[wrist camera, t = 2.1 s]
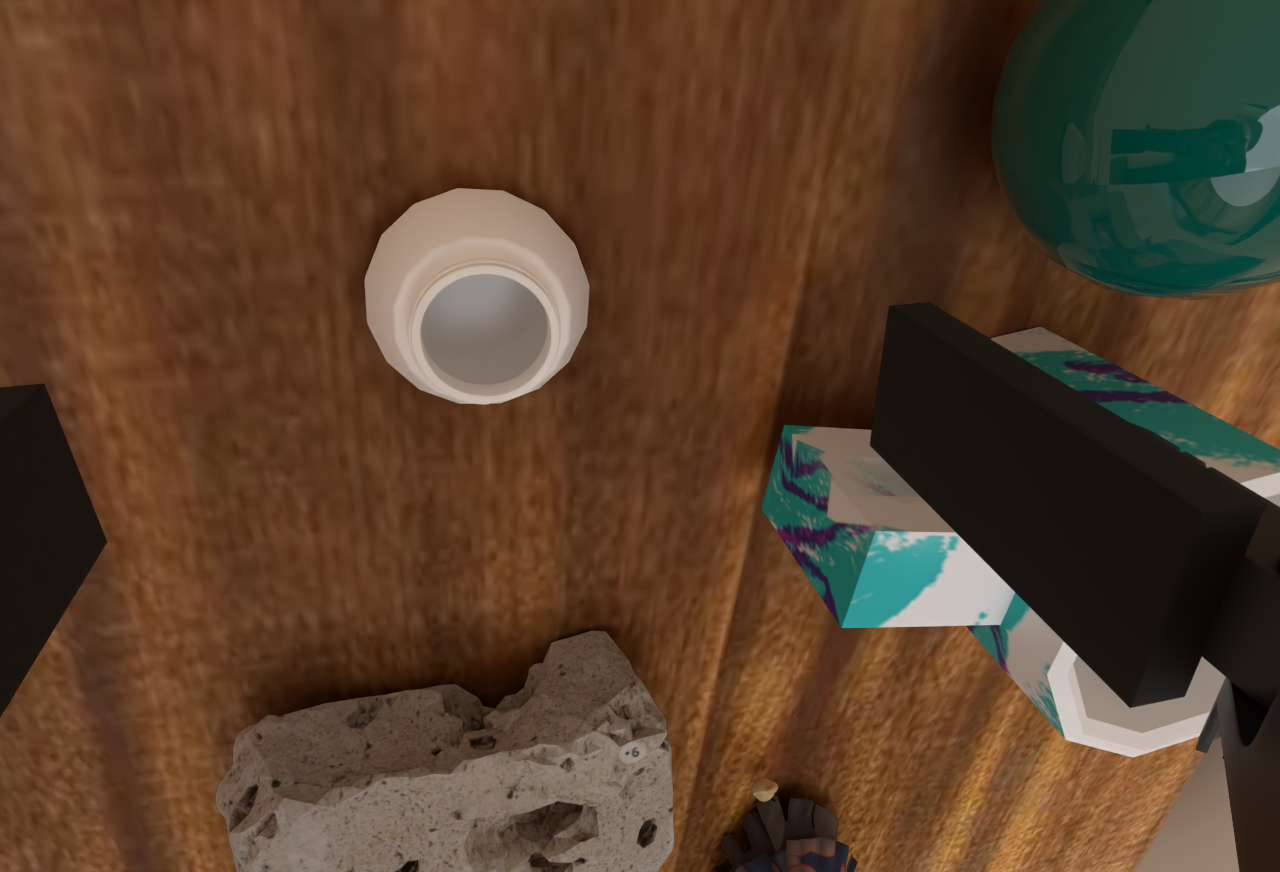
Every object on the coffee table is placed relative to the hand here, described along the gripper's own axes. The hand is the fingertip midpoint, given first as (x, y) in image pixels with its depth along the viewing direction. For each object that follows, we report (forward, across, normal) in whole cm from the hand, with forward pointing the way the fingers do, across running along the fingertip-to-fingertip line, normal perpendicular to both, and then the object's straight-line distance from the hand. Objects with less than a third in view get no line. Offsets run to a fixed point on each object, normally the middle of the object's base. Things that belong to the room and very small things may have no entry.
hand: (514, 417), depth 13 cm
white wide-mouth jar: (+7, 0, 0) cm, 7 cm away
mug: (+7, +13, -6) cm, 16 cm away
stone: (+7, -2, -15) cm, 17 cm away
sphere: (+7, +15, +4) cm, 17 cm away
